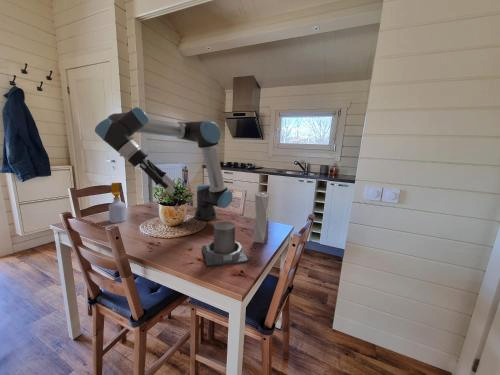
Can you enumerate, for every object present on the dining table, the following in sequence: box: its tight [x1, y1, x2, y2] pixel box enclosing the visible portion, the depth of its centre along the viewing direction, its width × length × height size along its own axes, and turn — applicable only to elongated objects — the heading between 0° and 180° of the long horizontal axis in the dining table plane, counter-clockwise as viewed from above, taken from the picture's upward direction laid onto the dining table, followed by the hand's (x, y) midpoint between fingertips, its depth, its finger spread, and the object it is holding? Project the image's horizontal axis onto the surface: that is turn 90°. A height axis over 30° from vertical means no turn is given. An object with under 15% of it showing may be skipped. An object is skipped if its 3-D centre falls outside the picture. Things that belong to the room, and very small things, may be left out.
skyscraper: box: [253, 191, 270, 245], centre depth 112 cm, size 8×8×28 cm
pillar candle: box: [213, 221, 236, 254], centre depth 97 cm, size 10×10×15 cm
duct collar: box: [201, 240, 249, 269], centre depth 98 cm, size 18×18×4 cm
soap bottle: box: [108, 182, 127, 224], centre depth 131 cm, size 9×9×25 cm
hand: (173, 189), depth 94 cm, fingers open, 13 cm apart
